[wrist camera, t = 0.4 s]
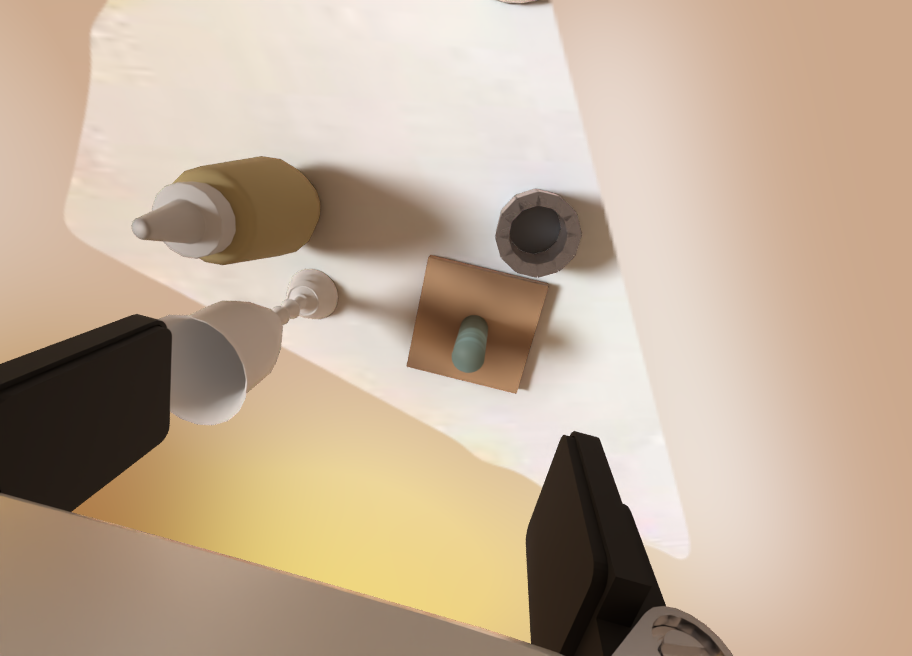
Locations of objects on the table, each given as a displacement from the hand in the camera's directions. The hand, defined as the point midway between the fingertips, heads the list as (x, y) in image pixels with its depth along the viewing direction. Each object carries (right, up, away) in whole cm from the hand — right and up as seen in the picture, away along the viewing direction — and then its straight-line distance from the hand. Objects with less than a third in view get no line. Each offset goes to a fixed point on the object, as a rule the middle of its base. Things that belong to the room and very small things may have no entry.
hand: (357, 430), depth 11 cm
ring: (+9, +11, +29) cm, 33 cm away
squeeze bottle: (-13, +14, +31) cm, 36 cm away
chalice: (-12, +6, +34) cm, 36 cm away
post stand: (+4, +3, +33) cm, 33 cm away
